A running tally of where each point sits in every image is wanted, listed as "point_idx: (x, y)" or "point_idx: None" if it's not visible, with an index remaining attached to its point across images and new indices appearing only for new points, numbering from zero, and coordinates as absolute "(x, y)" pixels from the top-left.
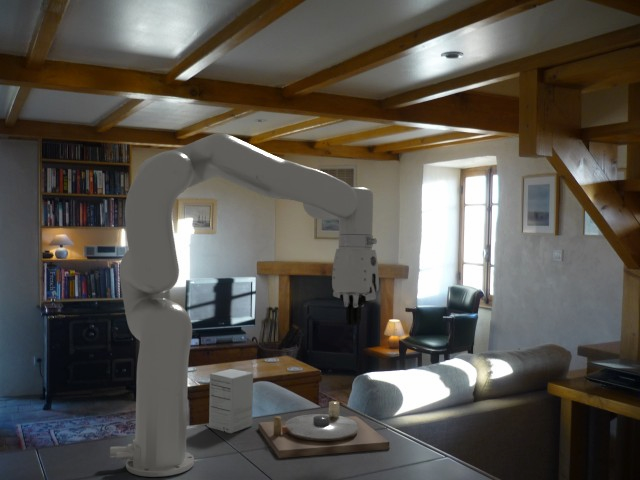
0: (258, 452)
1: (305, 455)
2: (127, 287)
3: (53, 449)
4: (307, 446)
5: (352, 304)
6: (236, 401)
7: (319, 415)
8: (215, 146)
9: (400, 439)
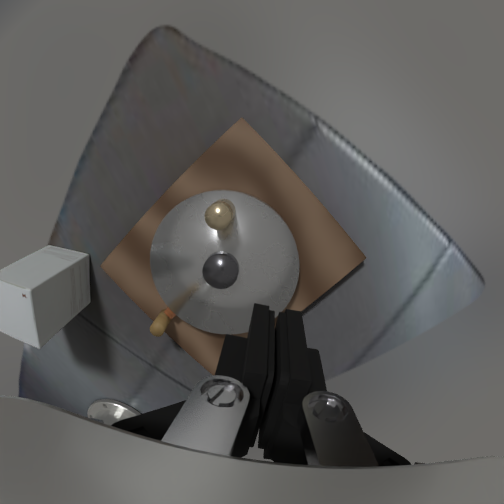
0: (176, 360)
1: None
2: None
3: None
4: None
5: (251, 438)
6: (64, 316)
7: (188, 211)
8: None
9: (367, 188)
